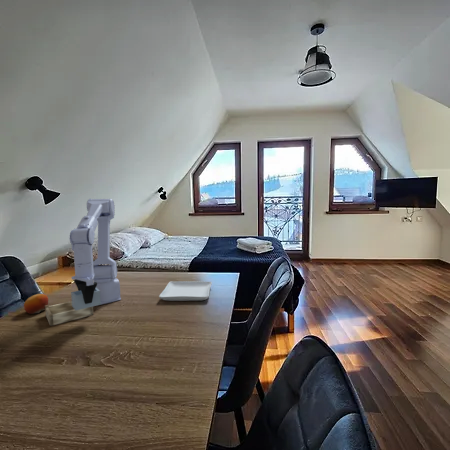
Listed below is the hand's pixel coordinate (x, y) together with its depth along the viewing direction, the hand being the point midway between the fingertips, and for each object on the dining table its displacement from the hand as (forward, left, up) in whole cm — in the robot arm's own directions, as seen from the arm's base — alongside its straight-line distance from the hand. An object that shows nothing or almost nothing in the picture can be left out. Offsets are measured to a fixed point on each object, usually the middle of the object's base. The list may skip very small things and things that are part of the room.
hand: (86, 300), depth 96 cm
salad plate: (-42, -2, -9) cm, 43 cm away
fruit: (+13, -25, -8) cm, 29 cm away
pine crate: (+4, -12, -8) cm, 15 cm away
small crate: (0, 0, -2) cm, 2 cm away
